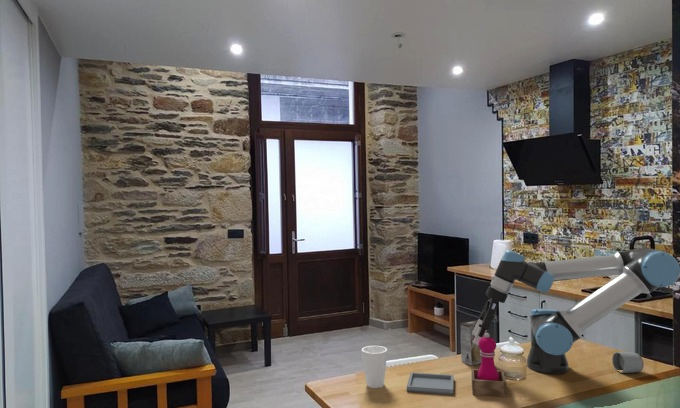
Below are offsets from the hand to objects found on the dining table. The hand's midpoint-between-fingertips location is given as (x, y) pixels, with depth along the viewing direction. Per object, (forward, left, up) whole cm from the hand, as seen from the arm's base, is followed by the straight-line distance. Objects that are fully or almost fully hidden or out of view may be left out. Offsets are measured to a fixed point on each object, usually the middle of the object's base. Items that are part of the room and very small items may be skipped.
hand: (475, 339), depth 179 cm
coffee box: (0, -16, -14) cm, 21 cm away
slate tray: (+16, +13, -14) cm, 25 cm away
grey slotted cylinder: (-55, -15, -14) cm, 59 cm away
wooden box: (-4, +13, -14) cm, 19 cm away
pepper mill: (-4, +13, -14) cm, 19 cm away
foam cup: (+36, +16, -14) cm, 42 cm away
